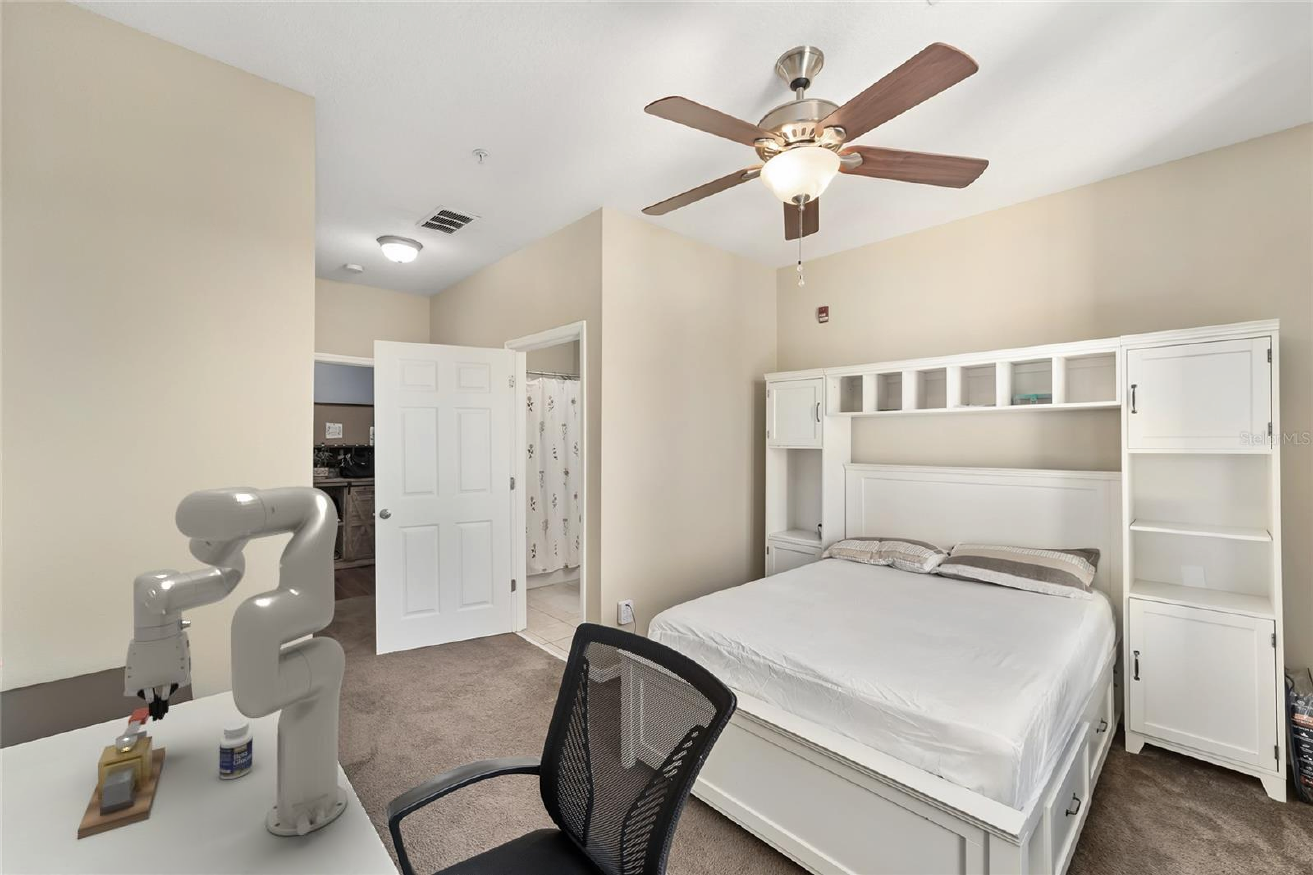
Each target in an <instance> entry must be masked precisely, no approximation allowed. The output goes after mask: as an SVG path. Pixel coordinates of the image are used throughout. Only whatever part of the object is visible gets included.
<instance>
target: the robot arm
mask: <svg viewBox="0 0 1313 875" xmlns="http://www.w3.org/2000/svg"><path fill="white" fill-rule="evenodd" d="M174 518H175V519H174V520H175V524H176V527H177V529H178V531H179V532H180V533H181V534H182V535H183V536H185V537H187V538H190V540H189V542H188V543H189V544H188V549H189V552H190V553H191V555H192V556H193V558H195V559H197V561H199V562H201V563H204V564H205V565H209V566H211V567H208V568H203V569H197V570H193V571H192V570H191V571H187V572H184V573H180V571H178V570H176V569H158V570H151V571H147V572H143V573H141V574H138V575H137V576H136V577H135V579H134V580H133V638H132V639H131V640H130V641H129V643H128V648H127V654H126V661H125V669H124V691H123V697H139V698H140V699H142V700H144V701H145V702H146V703H147V704H148V707H149V718H150V717H151V718H152V722H156V721H157V720H158V721H162V720H163V719H164V717H165V716H166V714H169V709H170V708H169V707H170V700H169V699H170V698H169V697H170V696H171V695H173V693H174V692H175V691H177V690H178V689H181V688H183V687H187V686H189V685H190V684H192V681H193V679H192V676H191V671H192V670H191V669H192V659H191V647H190V646H191V645H190V640H189V635H188V631H186V630H184V629H187V628H191V623H192V622H191V620H184V619H183V616H182V614H183V613H182V612H185V611H189V610H191V609H192V610H193V609H197V608H200V607H204V606H209V605H211V604H215V603H218V602H220V601H223V600H224V599H226V598H227V597H228V596H230V595H231V594H232V593H233V592H234V590H235V589H236V588H237V587H238V585H239V584H240V583H241V581H242V580H243V578H244V575H245V573H246V572H245V571H246V559H245V555H244V553H243V550H244V548H245V547H246V545H248V544H249V542H250V540H255V539H256V540H257V539H262V538H266V537H267V538H268V537H273V536H278V535H282V534H283V535H284V534H290V533H292V534H293V536H292V537H291V538H290V539H289V541H288V542H287V544H286V545H285V547H284V549H283V551H282V553H281V556H280V558H279V564H278V565H279V566H278V567H279V570H278V572H279V581H278V586H277V587H276V588H274V589H271V590H269V591H264V592H259V593H257V594H255V595H254V594H253V595H252V596H250V597H248V598H246V599H245V600H243V601H242V602H241V603H240V605H239V606H238V607H237V608H236V609H235V612H234V614H233V617H232V619H231V620H232V621H231V625H230V658H231V661H230V662H231V663H230V664H231V667H230V668H231V691H232V697H233V701H234V705H235V706H236V708H237V710H238V711H239V713H240V714H241V715H242V716H244V717H246V718H247V719H259V718H261V719H262V718H263V717H264V718H265V717H267V716H270V715H271V714H274V713H276V712H279V711H280V710H281V711H280V714H279V717H278V722H277V734H276V735H277V738H276V742H277V743H276V746H277V747H276V750H277V752H276V754H277V756H276V759H277V760H276V766H277V767H276V769H277V770H276V776H277V777H276V780H277V781H276V803H275V804H274V805H273V806H272V807H271V808H270V809H269V812H267V816H266V821H265V822H266V828H267V829H268V831H269V832H270V833H272V834H275V835H278V836H284V837H285V836H286V837H287V836H298V835H300V836H303V835H306V834H307V833H310V832H312V831H316V830H318V829H319V828H320V829H321V827H323V826H326V825H327V824H330V823H331V822H332V821H334V820H335V819H336V818H337V817H338V816H340V814H341V813H342V812H343V811H344V810H345V808H346V806H347V804H348V793H347V791H346V790H345V789H344V788H343V787H341V786H339V785H338V784H339V777H338V776H339V709H340V708H339V706H340V697H341V696H340V694H341V689H342V688H341V687H342V682H343V679H344V673H345V668H346V655H345V650H344V648H343V646H342V644H341V643H340V642H338V641H337V640H336V639H334V638H332V637H328V636H317V637H311V638H308V639H305V640H302V641H300V642H297V643H294V644H291V645H288V646H285V647H283V648H281V647H282V646H283V645H286V644H288V643H291V642H294V641H296V640H300V639H302V638H304V637H306V636H307V637H308V636H309V635H313V634H315V633H317V632H320V631H321V630H323V629H325V628H327V627H328V626H329V625H330V624H331V622H332V621H333V618H334V615H335V604H336V602H335V600H336V599H335V563H334V562H335V561H334V559H335V548H336V547H335V546H336V538H337V534H338V526H339V525H338V524H339V516H338V512H337V508H336V505H335V503H334V501H333V499H332V498H331V496H329V494H327V493H326V492H325V491H323V490H322V489H319V488H317V487H314V486H313V487H312V486H303V485H302V486H301V485H300V486H298V485H297V486H284V487H274V488H268V489H266V488H265V489H259V488H256V487H250V486H234V487H224V488H222V487H221V488H212V489H211V488H210V489H201V490H197V491H193V492H191V493H189V494H187V495H186V496H185V497H184V498H183V499H181V501H180V502H179V504H178V506H177V508H176V510H175V517H174ZM160 687H162V692H161V695H160V696H159V695H158V694H157V689H156V688H160Z"/></svg>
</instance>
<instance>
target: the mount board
mask: <svg viewBox="0 0 1313 875" xmlns="http://www.w3.org/2000/svg"><path fill="white" fill-rule="evenodd" d="M165 755H166V747H165V746H164V747H160V748H156V749H152V773H151V776H150V780H149V783H148V786H147V787H144V788H140V789H136V800H135V804H134V806H133V807H129V808H126V809H122V810H119V811H115V812H112V813H108V814H104V815H101V816H100V805H101V802H102V799H99V800H98V783H97V784H96V786H95V789H94V791H93V793H92V795H91V797H90V800H89V802H88V805H87V807H86V809H85V812H84V815H83V817H82V819H81V821H80V823H79V826H78V828H77V840H78V839H82V838H86V837H90V836H93V835H96V834H100V833H103V832H106V831H110V830H113V829H116V828H117V829H118V828H120V827H123V826H127V825H130V824H134V823H137V822H140V821H145V820H148V819H149V817H150V814H151V809H152V805H153V802H154V799H155V793H156V790H157V788H158V787H157V786H158V783H159V779H160V774H161V771H162V768H163V765H164V764H163V763H164V760H165ZM133 791H134V790H133Z"/></svg>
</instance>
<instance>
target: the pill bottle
mask: <svg viewBox="0 0 1313 875" xmlns="http://www.w3.org/2000/svg"><path fill="white" fill-rule="evenodd" d="M249 727H250V726H249V721H248V720H246V719H241V720H240V719H239V720H235V721H231V722H229V723H227V724H226V725H225V726H224V728H223V729H224V730H223V731H224V732H223V736H222V738H221V739H220V740H219V756H218V757H219V759H218V760H219V763H218V764H219V769H218V770H219V771H218V772H219V777H220V779H222V780H233V779H237V778H239V777H243V776H244V775H246V774H248V773H249V772H250V771H251V770H252V768H253V737H254V736H253V732H252V731H250V730H249Z"/></svg>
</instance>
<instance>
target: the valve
mask: <svg viewBox="0 0 1313 875" xmlns="http://www.w3.org/2000/svg"><path fill="white" fill-rule="evenodd" d="M147 731H148V730H144V731H140V732H139V731H138V732H137V746H136V747H134V748H132V749H130V750H127V751H123V752H116V743H115V744H112V745H107V746H104V749H103V751H102V753H101V755H100V758H99V760H98V762H97V784H98V800H99V799H102V802H101V805H100V816H101V815H104V814H108V813H112V812H115V811H119V810H122V809H126V808H129V807H133V806H134V804H135V800H136V789H140V788H144V787H147V786H148V783H149V780H150V776H151V773H152V750H153V736H148V732H147ZM133 790H134V791H133Z"/></svg>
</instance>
